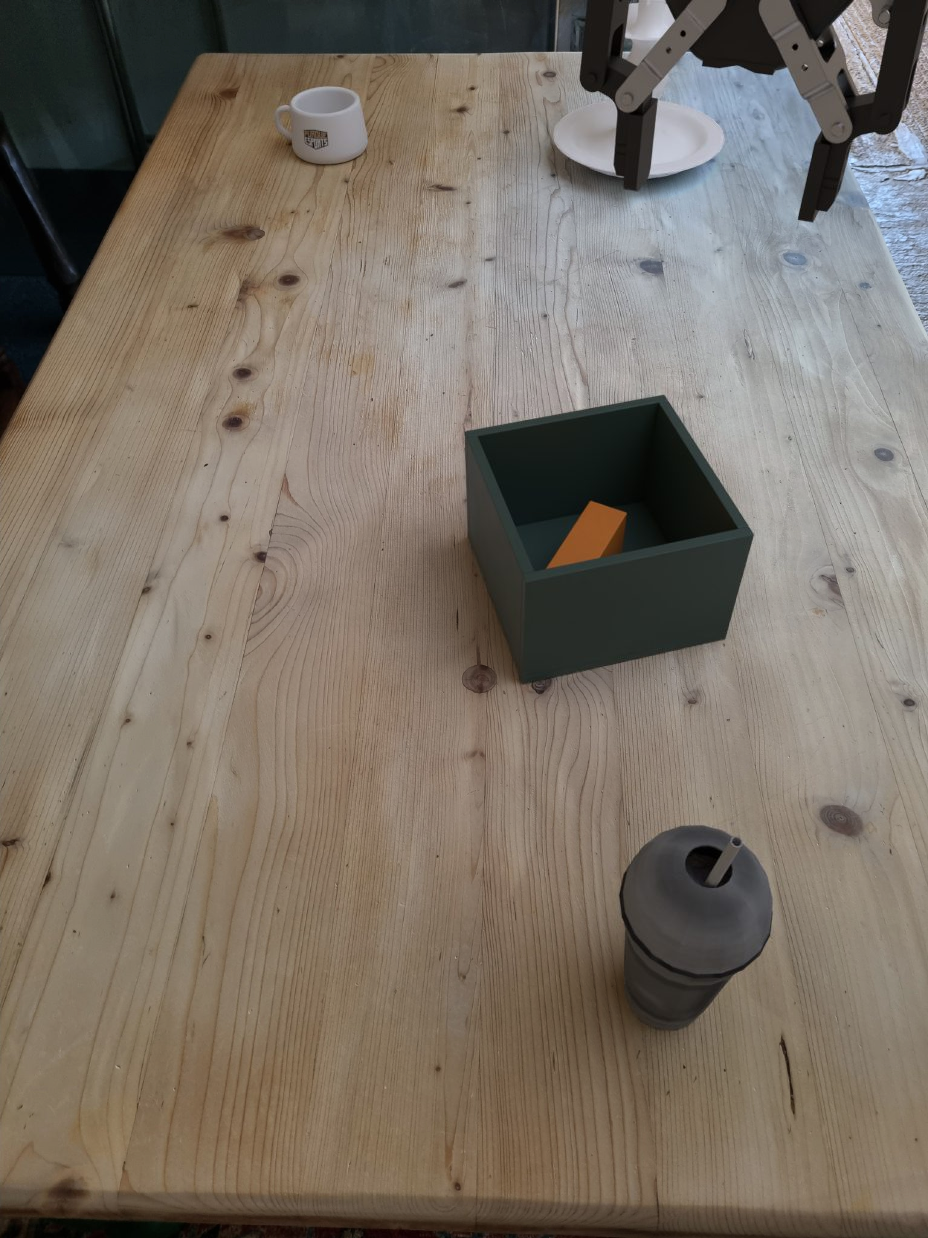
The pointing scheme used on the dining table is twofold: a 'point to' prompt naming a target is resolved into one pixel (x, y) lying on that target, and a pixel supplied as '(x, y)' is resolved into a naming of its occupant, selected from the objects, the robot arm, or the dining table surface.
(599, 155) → the candlestick
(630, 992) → the beverage cup
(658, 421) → the open box
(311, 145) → the mug
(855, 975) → the dining table surface
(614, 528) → the block
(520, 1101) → the dining table surface
